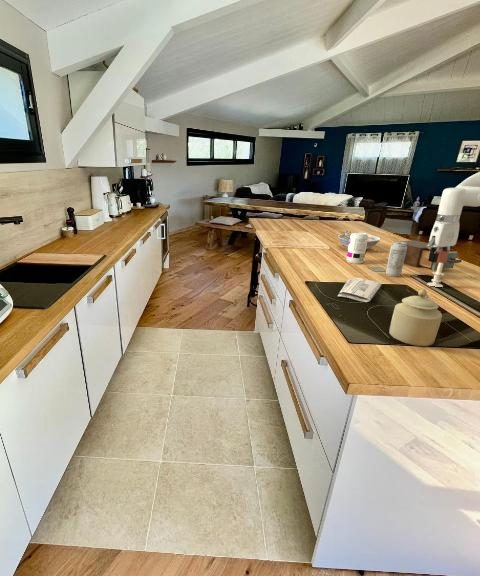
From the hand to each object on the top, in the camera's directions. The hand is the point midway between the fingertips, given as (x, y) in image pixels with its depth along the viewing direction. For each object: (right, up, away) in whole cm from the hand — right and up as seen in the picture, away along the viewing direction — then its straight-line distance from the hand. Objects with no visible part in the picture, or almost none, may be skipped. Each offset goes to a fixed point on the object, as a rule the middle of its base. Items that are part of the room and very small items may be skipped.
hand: (437, 260), depth 137 cm
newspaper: (-41, -13, -12) cm, 44 cm away
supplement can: (-22, +1, +27) cm, 35 cm away
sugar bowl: (-43, -26, -44) cm, 67 cm away
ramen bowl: (-8, +11, +52) cm, 54 cm away
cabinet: (+7, +1, +25) cm, 26 cm away
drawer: (+10, -2, +14) cm, 17 cm away
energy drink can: (-16, -6, +6) cm, 18 cm away
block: (0, 0, 0) cm, 0 cm away
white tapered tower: (-7, -11, -7) cm, 15 cm away
